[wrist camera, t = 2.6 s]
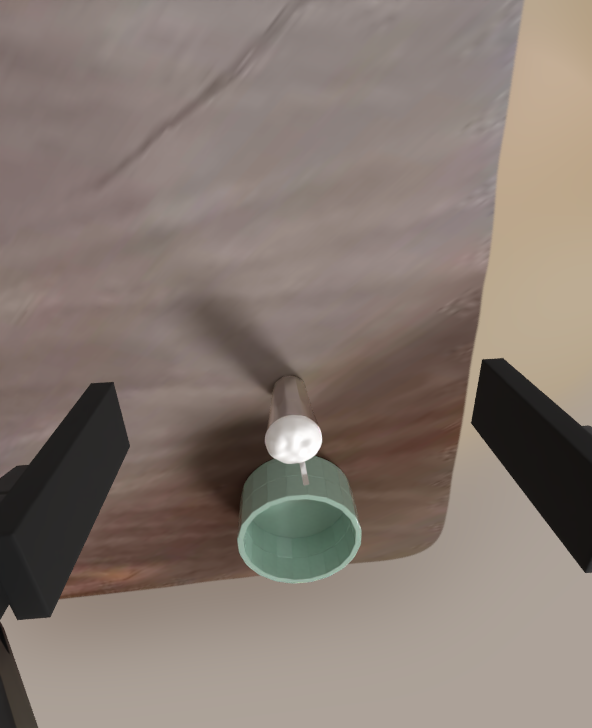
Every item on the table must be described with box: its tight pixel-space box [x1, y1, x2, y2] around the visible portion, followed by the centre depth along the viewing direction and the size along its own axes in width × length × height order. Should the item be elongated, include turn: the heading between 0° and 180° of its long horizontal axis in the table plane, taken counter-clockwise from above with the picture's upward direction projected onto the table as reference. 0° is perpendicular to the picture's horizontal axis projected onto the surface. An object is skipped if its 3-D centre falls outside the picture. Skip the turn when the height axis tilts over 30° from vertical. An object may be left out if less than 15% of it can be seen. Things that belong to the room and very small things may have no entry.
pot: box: [237, 456, 361, 583], centre depth 45 cm, size 12×12×6 cm
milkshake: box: [265, 376, 322, 486], centre depth 37 cm, size 5×5×10 cm
